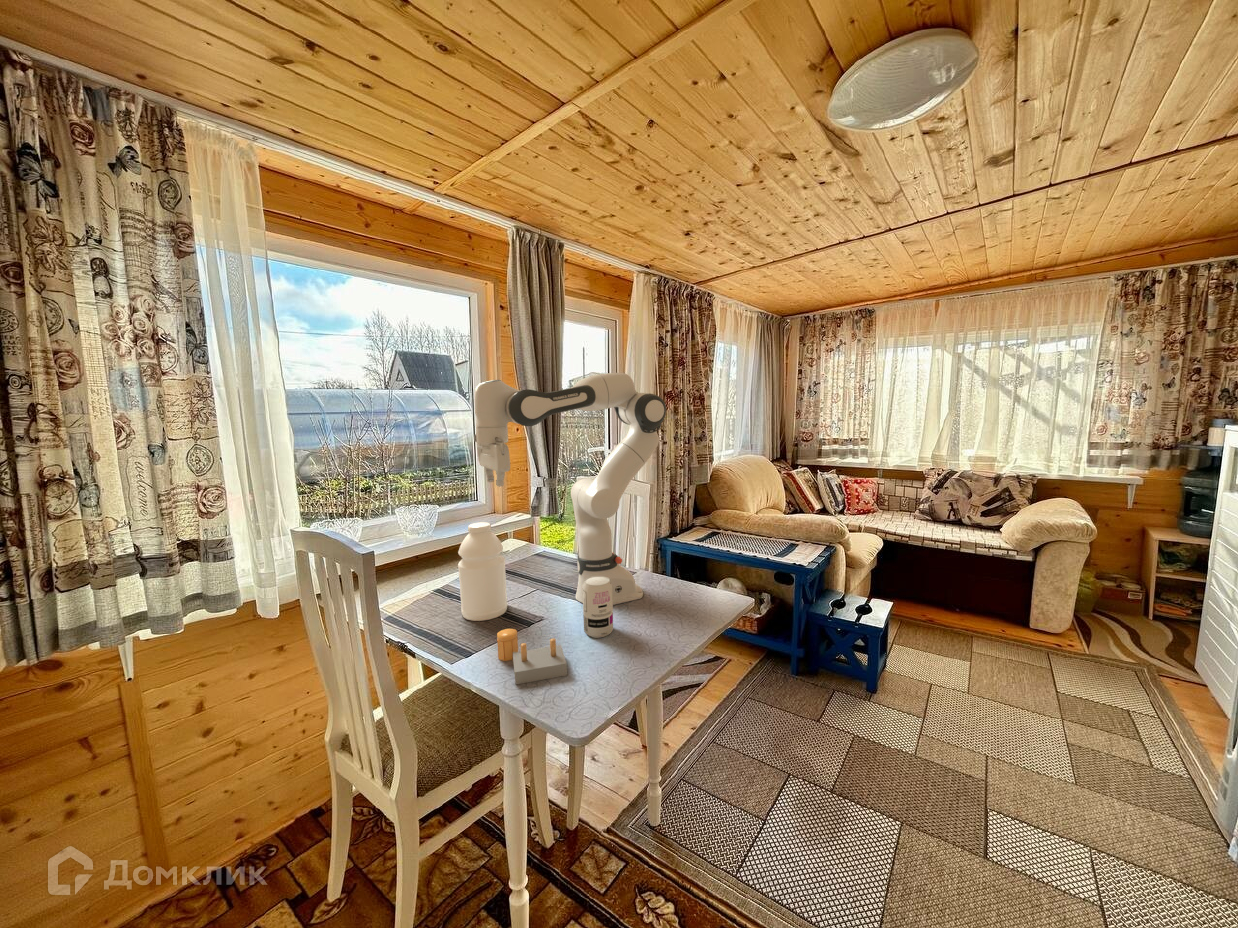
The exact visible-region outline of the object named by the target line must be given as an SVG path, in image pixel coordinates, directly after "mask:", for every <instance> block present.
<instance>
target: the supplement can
mask: <svg viewBox="0 0 1238 928" xmlns="http://www.w3.org/2000/svg"><path fill="white" fill-rule="evenodd" d="M582 590H583V603H582V610H583V612H582V614H583V630H584V633H585V634H586V635H587V636H589V637H591V638H595V639H596V638H597V639H598V638H604V637H608V636H609V635H610V634H611V633H612V632H613V630H614V609H613V608H614V607H613V606H614V605H613V603H612V584H611V582H610V580H609V578H607V577H604V576H592V577H589V578H587V579H585V581H584V584H583V586H582Z"/></svg>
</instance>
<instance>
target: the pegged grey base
mask: <svg viewBox="0 0 1238 928" xmlns="http://www.w3.org/2000/svg"><path fill="white" fill-rule="evenodd" d="M519 646H520V650H518V652H513V659H512V662H513V674H514V685H520V684H526V683H531V682H536V681H542V680H547V679H553V678H560V677H564V676H568V666H567V665H568V664H567V659H566V657H565V653H564V651H563V647H562V644H557V640H556V638H553V637H552V638H550V639H549V646H545V647H539V648H532V649H528V648H527V643H526V642H523V643H521V644H520V645H519Z"/></svg>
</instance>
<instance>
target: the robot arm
mask: <svg viewBox="0 0 1238 928" xmlns="http://www.w3.org/2000/svg"><path fill="white" fill-rule="evenodd" d="M635 387H636V386H635V384H634V380H633V379H632V377H631V376H630V375H629V374H628V373H625V372H610V373H609V372H608V373H601V374H595V375H589V376H588V377H585V378H582V379H580V380H578V381H577V382H576V383H575V385H574V386H572V387H569V388H564V389H560V390H554V391H549V392H546V391H545V392H542V391H539V390H534V389H529V388H528V389H522V390H519V389H517V388H515V387H512V386H510V385H508V383H507V384H506V383H505V382H504V381H503V380H501V379H491V380H487V381H483V382H480V383H479V384H477V386H476V387H475V390H474V413H475V416H476V424H475V434H474V435H473V436H474V438H473V439H474V443H476V450H477V451H476V452H477V458H478V463H479V465H480V466H481V467H484V472H485V475H486V481H487V482H488V483H494V482H495V486H496V487H498V488H499V487H503V486H504V483H505V482H504V479H505V475H506V473H505V472H510V470H511V457H510V450H509V446H508V445H507V443H509V430H508V429H509V428H508V424H509V423H514V424H515V425H520V426H524V427H533V426H537V425H538V424H540V423H542V422H543V421H544V420H545V419H547V418H548V417H550V416H552V415H556V414H559V413H564V412H569V411H573V410H581V411H583V412H595V411H597V412H598V411H603V410H607V409H611V408H614V411H615V414H616V417H617V418H618V420H620V421H621V422H622V423H624V424H626V425H629V429H628V431H627V433H626V435H625V436H624V437H623V438H622V439H621V440H620V442H619V443H618V444H617V445H616V446H615V447H614V448H613V449H612V450H611V451H610V453H609V454H608V455H607V456H606V457H605V459H604V460H603V461H602V462H603V464H602V466H601V467H600V468H601V469H600V470H599V472H598V474H597V475H596V477H595V478H589V477H588V478H582V479H578V480H576V481H575V482H574V483H573V485H572V487H571V489H570V498H571V500H572V508H573V513H574V518H575V524H576V528H577V529H576V530H577V541H578V542H577V544H578V545H577V547H578V548H577V549H578V555H577V559H576V561H577V562H576V563H577V566H576V567H577V572H578V579H577V582H578V583H577V589H576V593H575V599H576V601H578V602H579V603H582V604H583V590H582V586H583V584H584V581H585V579H587V578H589V577H592V576H604V577H607V578H609V580H610V582H611V584H612V603H613V606H615V605H618V604H624V603H627V602H631V601H636V600H640V599H642V598H643V596H644V592H643V589H642V587H641V586H640V585H639V584H637V583H636V579H635V577H634V575H633V574H632V572H630V571H629V570H628V569H627V568H625V567H624V566H622V565H621V564H622V563H623V559H622V558H621V557H620V556H618V554H615V553H614V552H613V543H612V542H613V540H612V539H613V537H612V529H611V526H610V523H609V519H610V518H611V517H613V516H615V514H616V513H617V512H618V510H619V508H620V500H621V498H622V497H623V495H624V493H625V490H626V489H627V488H628V486H629V484H630V482H631V481H632V480H633V479H634V478H635V476H636V475H637V474H638V473H639V472H640V471H641V469H642V468H643V467H644V466H645V464H646V463H647V462H648V461H649V459H650V458H651V456H652V455H653V454H654V452H655V451H656V449H657V447H658V445H659V444H660V437H659V434H658V432H657V431H659V430H660V429H661V428H662V424H663V422H664V420H665V418H666V414H667V405H666V403H665V401H664V399H662V397H660V396H659V395H657V394H654V393H647V392H637V390H636V388H635ZM494 472H495V475H496V479H495V476H494Z"/></svg>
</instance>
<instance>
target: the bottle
mask: <svg viewBox="0 0 1238 928" xmlns="http://www.w3.org/2000/svg"><path fill="white" fill-rule="evenodd" d="M491 530H492V526H491V524H490V522H484V521H481V522H480V521H479V522H473V523H471V524H469V525H468V526H467V531H468V534H467V535H465V537H464V539H463V540H462V542H461V544H460V546H459V547H458V548H459V549H458V551H457V553H458V555H459V557H461V560H460V561H459V562H458V564H457V567H458V568H457V569H458V578H459V581H458V582H459V594H460V595H459V596H460V606H461V607H460V612H461V615H462V617H463V618H464V619H466V620H468V621H475V622H477V621H478V622H480V621H488V620H489V621H490V620H493V619H495V618H498V617H500V616H502V615H504V614H505V613H506V612H507V610H508V604H509V603H508V598H507V597H508V595H507V582H506V581H507V578H506V576H507V575H506V559H505V557H504V556H503V555H501V553H502V552H503V551H504V546H503V543H502V541H501V540H500V538H499V537H497V535H496V534H495V533H493V532H492V531H491Z"/></svg>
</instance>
